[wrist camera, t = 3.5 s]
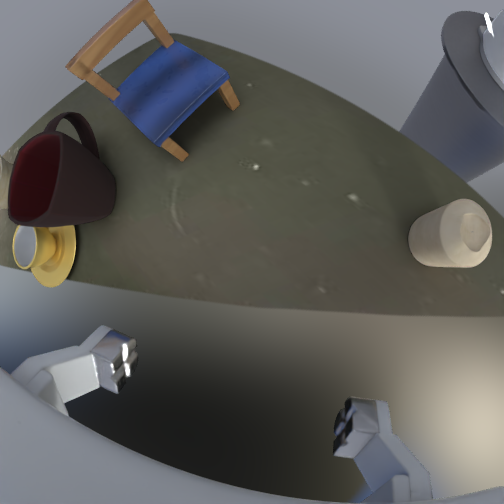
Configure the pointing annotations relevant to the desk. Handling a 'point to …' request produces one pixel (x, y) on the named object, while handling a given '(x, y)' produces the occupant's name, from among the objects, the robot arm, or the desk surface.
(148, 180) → the desk surface
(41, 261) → the cup
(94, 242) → the desk surface
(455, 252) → the candle
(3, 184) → the flower pot
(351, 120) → the desk surface
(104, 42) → the chair
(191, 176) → the desk surface
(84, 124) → the mug
